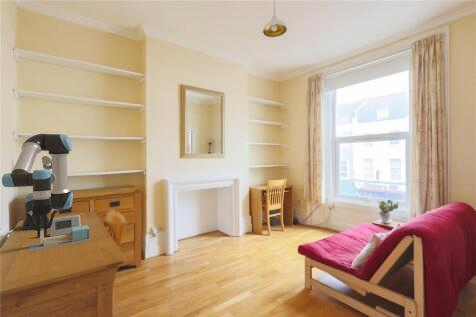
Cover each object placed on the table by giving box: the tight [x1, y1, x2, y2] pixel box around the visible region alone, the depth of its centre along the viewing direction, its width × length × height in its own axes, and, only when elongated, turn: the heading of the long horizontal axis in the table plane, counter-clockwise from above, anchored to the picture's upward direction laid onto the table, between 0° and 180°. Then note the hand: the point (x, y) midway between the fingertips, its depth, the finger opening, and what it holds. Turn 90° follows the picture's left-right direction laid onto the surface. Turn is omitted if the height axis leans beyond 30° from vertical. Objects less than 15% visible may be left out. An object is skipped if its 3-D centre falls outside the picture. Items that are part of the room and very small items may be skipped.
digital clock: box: [48, 214, 82, 237], centre depth 147 cm, size 16×9×11 cm, turn 122°
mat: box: [27, 236, 92, 252], centre depth 131 cm, size 12×27×1 cm, turn 129°
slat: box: [44, 233, 72, 246], centre depth 131 cm, size 4×14×3 cm, turn 129°
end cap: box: [70, 224, 90, 242], centre depth 137 cm, size 9×8×6 cm
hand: (42, 242), depth 126 cm, fingers closed
